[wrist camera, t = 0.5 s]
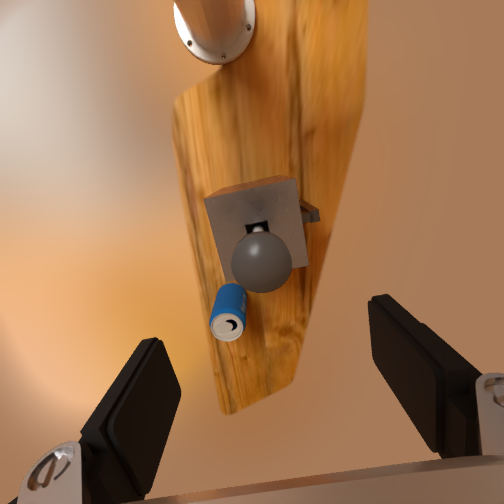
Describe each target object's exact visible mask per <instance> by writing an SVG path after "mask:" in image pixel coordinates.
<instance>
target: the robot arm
mask: <svg viewBox="0 0 504 504" xmlns="http://www.w3.org/2000/svg"><path fill="white" fill-rule="evenodd" d="M174 19H175V25H176V28H177V31H178V34H179V36H180V38H181V40H182V42H183V43H184V45H185V47H186V48H187V49H188V51H189V52H190V53H191V54H192V55H193V56H195V57H196V58H197V59H199V60H201V61H203V62H205V63H208V64H212V65H222V64H227V63H229V62H231V61H234V60H235V59H236V58H238V57H239V56H240V55H241V54H242V53H243V52H244V51H245V50H246V48H247V46H248V45H249V43H250V41H251V38H252V36H253V32H254V27H255V4H254V0H174ZM247 29H250V31H247ZM191 44H192V46H191V47H190V45H191ZM223 57H225V59H222V58H223ZM368 312H369V313H368V314H369V325H370V335H371V347H372V357H373V360H374V362H375V364H376V366H377V368H378V369H379V371H380V372H381V374H382V375H383V377H384V379H385V380H386V382H387V383H388V385H389V386H390V388H391V390H392V391H393V393H394V394H395V396H396V397H397V399H398V400H399V402H400V404H401V405H402V407H403V408H404V410H405V411H406V413H407V415H408V416H409V417H410V419H411V421H412V422H413V424H414V425H415V427H416V429H417V430H418V432H419V433H420V435H421V436H422V438H423V439H424V441H425V442H426V444H427V446H428V447H429V448H430V450H431V451H432V452H434V453H436V452H438V453H439V455H440V456H441V458H442V459H438V460H430V461H421V462H412V463H403V464H396V465H388V466H382V467H374V468H366V469H359V470H351V471H344V472H336V473H330V474H322V475H314V476H307V477H301V478H293V479H286V480H279V481H272V482H265V483H257V484H250V485H244V486H236V487H229V488H222V489H216V490H208V491H202V492H195V493H189V494H182V495H175V496H168V497H162V498H155V499H148V500H144V498H145V495H146V494H148V493H149V492H150V490H151V488H152V485H153V481H154V479H155V476H156V473H157V469H158V466H159V463H160V460H161V457H162V454H163V451H164V448H165V445H166V442H167V439H168V435H169V432H170V429H171V426H172V423H173V420H174V417H175V414H176V411H177V408H178V405H179V401H180V398H181V388H180V385H179V383H178V380H177V377H176V375H175V373H174V370H173V367H172V364H171V362H170V359H169V357H168V354H167V351H166V349H165V346H164V344H163V341H162V340H159V339H158V338H156V337H154V338H150V339H144V340H142V341H141V342H140V344H139V345H138V346H137V348H136V349H135V351H134V352H133V354H132V355H131V357H130V358H129V360H128V361H127V363H126V364H125V366H124V367H123V369H122V370H121V372H120V373H119V375H118V376H117V378H116V379H115V381H114V382H113V384H112V385H111V386H110V388H109V389H108V391H107V393H106V394H105V396H104V397H103V398H102V400H101V402H100V403H99V404H98V406H97V407H96V409H95V411H94V412H93V413H92V415H91V416H90V418H89V419H88V421H87V422H86V424H85V425H84V427H83V428H82V430H81V431H80V432H81V434H82V437H81V439H80V440H79V442H76V441H69V442H65V443H62V444H60V445H58V446H56V447H54V448H53V449H51V450H50V451H49V452H47V453H46V454H45V455H43V456H42V457H41V458H40V459H39V460H38V461H37V462H36V463H35V464H34V465H33V466H32V468H31V469H30V470H29V471H28V473H27V474H26V476H25V478H24V479H23V481H22V484H21V487H20V491H19V496H18V497H16V498H15V499H14V500H12V501H11V502H10V503H8V504H504V374H503V373H487V374H484V375H483V374H482V373H480V372H479V371H478V370H477V369H476V368H475V367H474V366H473V365H471V364H470V363H469V362H468V361H467V360H466V359H464V358H463V357H462V356H461V355H460V354H459V353H458V352H456V351H455V350H454V349H453V348H452V347H451V346H450V345H448V344H447V343H446V342H445V341H444V340H443V339H442V338H440V337H439V336H438V335H437V334H436V333H435V332H434V331H432V330H431V329H430V328H429V327H428V326H427V325H425V324H423V323H420V322H419V321H418V320H417V319H416V318H414V317H413V316H412V315H411V314H410V313H409V312H408V311H407V310H405V309H404V308H403V307H402V306H401V305H400V304H399V303H397V302H396V301H395V300H394V299H393V298H392V297H391V296H390V295H388V294H383V295H378V296H373V297H372V299H371V301H368Z"/></svg>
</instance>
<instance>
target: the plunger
mask: <svg viewBox="0 0 504 504" xmlns="http://www.w3.org/2000/svg"><path fill="white" fill-rule="evenodd" d="M246 229H247V235H246V236H244V237H243V238H242V239H241V240H240V241H239V242H238V243H237V244H236V246H235V248H234V251H233V255H232V260H231V270H232V273H233V276H234V278H235V280H236V281H237V282H238V283H239V284H240V285H241V286H242V287H243V288H245V289H247V290H249V291H252V292H256V293H266V292H271V291H274V290H276V289H278V288H279V287H281V286H282V285H283V284H284V283H285V282H286V281H287V279H288V278H289V276H290V273H291V270H292V258H291V255H290V253H289V250H288V248H287V246H286V244H285V243H284V241H283V240H282V239H281V238H280V237H278V236H277V235H275V234H273V233H270V231H269V226H268V221H267V220H266V221H261V222H257V223H252V224H248V225H246Z"/></svg>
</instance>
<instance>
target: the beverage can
mask: <svg viewBox="0 0 504 504" xmlns="http://www.w3.org/2000/svg"><path fill="white" fill-rule="evenodd" d="M246 307H247V294H246V291H245V290H244V288H243V287H241V286H240V285H238V284H235V283H228V284H225V285H223V286H222V287H221V288H220V289H219V291H218V293H217V296H216V300H215V303H214V307H213V310H212V314H211V317H210V328H211V331H212V333H213V335H214V336H215V337H216V338H217V339H219V340H222V341H233V340H235V339H237V338H238V337H239V336H240V335H241V334H242V332H243V331H244V329H245V326H246Z"/></svg>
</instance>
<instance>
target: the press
mask: <svg viewBox="0 0 504 504" xmlns="http://www.w3.org/2000/svg"><path fill="white" fill-rule="evenodd" d="M204 203H205V206H206V210H207V214H208V217H209V221H210V225H211V228H212V232H213V236H214V239H215V243H216V247H217V250H218V254H219V258H220V261H221V265H222V269H223V272H224V276H225V280H226V282H229V281H234V280H235V278H234V276H233V273H232V270H231V260H232V255H233V251H234V248H235V246H236V244H237V243H238V242H239V241H240V240H241V239H242V238H243V237H244V236H246V235H247V229H246V225H248V224H252V223H257V222H261V221H266V220H267V221H268V226H269V231H270V233H273V234H275V235H277V236H278V237H280V238H281V239H282V240H283V241H284V243H285V244H286V246H287V248H288V250H289V253H290V255H291V258H292V269H294V268H299V267H304V266H309V262H308V255H307V249H306V242H305V236H304V230H303V223H306V222H311V223H313V222H318V221H320V217H319V210H318V209H317V208H315V207H314V206H312V205H310V204H308V203H307V202H305V201H303V200H302V199H301V200H299V198H298V192H297V185H296V179H295V178H291V177H285V176H274V177H270V178H266V179H261V180H257V181H252V182H248V183H243V184H239V185H235V186H230V187H226V188H222V189H220V190H218V191H217V192H215V193H213V194H211V195H210V196H208V197H206V198H204Z"/></svg>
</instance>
